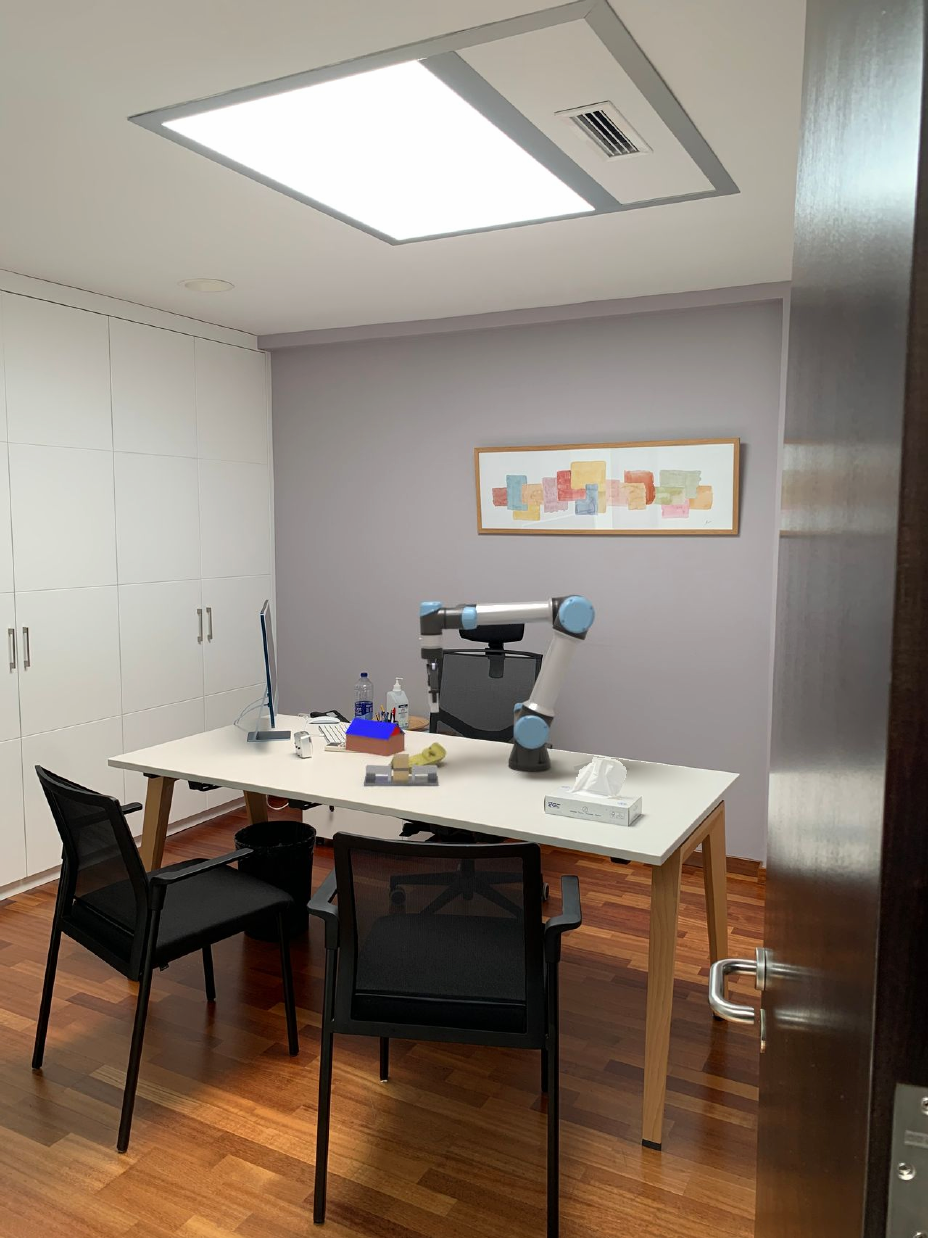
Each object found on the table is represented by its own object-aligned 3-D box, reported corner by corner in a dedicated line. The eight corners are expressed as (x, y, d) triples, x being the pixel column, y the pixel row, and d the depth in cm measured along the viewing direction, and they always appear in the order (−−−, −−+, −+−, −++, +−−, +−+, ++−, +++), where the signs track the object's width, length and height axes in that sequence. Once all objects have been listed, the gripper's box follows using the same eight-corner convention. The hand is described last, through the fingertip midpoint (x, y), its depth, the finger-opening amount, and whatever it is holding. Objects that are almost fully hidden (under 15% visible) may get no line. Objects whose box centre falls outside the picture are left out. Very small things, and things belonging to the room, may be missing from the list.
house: (387, 757, 339) (387, 726, 338) (344, 750, 349) (344, 720, 348) (405, 751, 349) (405, 721, 348) (363, 744, 360) (363, 715, 359)
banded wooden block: (408, 777, 306) (408, 754, 305) (408, 781, 301) (408, 757, 300) (393, 777, 306) (393, 754, 305) (393, 781, 301) (393, 757, 300)
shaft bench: (437, 778, 309) (437, 762, 308) (438, 786, 300) (438, 769, 299) (365, 779, 307) (365, 762, 307) (363, 786, 298) (363, 769, 298)
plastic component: (410, 768, 313) (392, 751, 319) (405, 785, 317) (387, 768, 322) (451, 755, 327) (434, 739, 333) (446, 771, 330) (428, 755, 336)
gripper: (419, 643, 323) (420, 702, 325) (422, 651, 299) (424, 715, 300) (440, 642, 324) (441, 701, 326) (445, 650, 299) (447, 714, 301)
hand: (433, 708), depth 313 cm, fingers open, 13 cm apart
